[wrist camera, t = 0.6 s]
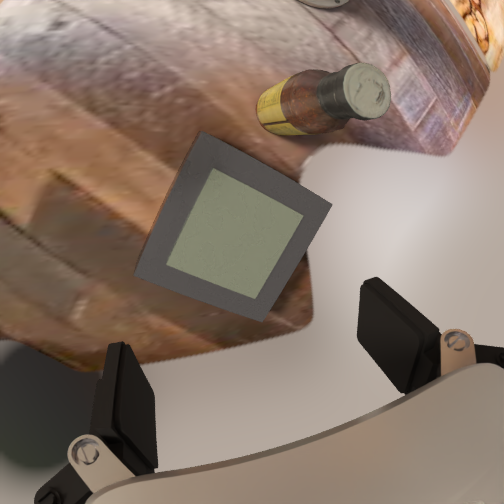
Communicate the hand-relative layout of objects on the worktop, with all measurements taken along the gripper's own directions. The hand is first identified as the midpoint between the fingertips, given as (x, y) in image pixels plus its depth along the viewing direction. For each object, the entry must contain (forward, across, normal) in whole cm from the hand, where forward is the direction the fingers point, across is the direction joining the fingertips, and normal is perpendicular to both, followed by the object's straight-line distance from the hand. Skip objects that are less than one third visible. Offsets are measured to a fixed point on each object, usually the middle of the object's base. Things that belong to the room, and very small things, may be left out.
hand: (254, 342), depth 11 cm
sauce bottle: (+28, -11, -8) cm, 32 cm away
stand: (+28, -3, +5) cm, 28 cm away
